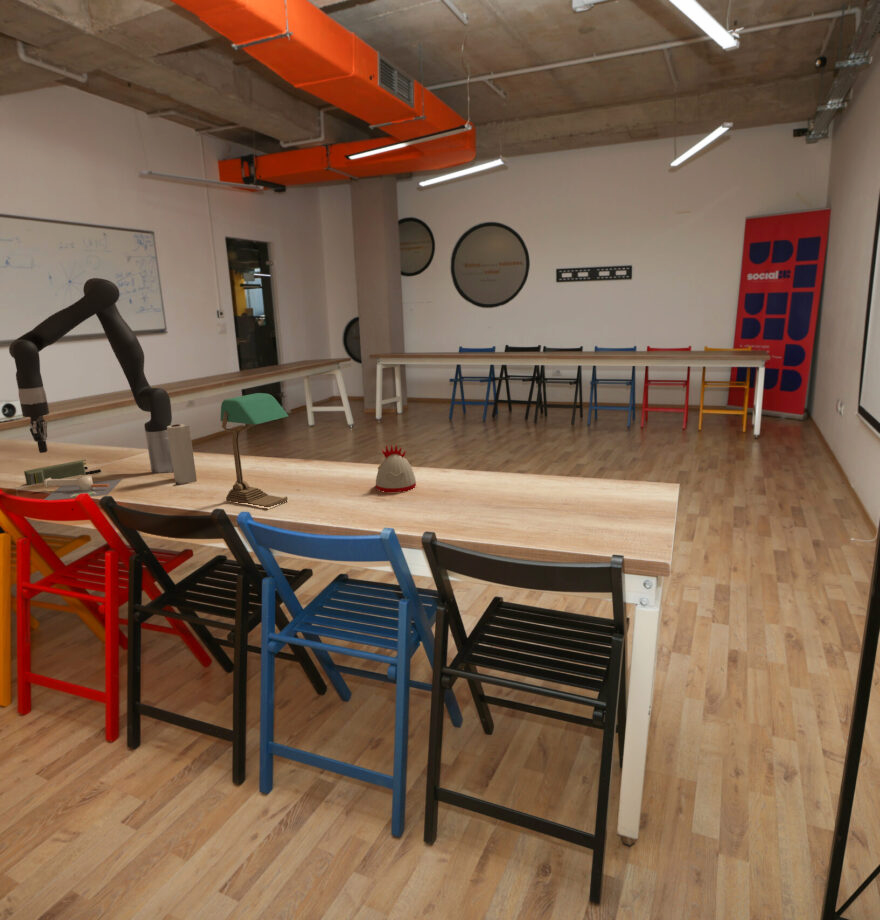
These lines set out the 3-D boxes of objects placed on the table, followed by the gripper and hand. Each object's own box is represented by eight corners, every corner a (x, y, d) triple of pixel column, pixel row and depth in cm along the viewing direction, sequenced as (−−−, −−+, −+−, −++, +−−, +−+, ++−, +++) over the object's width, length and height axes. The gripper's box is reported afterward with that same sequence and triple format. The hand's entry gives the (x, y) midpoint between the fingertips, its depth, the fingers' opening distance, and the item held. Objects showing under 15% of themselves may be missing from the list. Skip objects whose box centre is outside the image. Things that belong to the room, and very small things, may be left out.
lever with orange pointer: (112, 486, 220) (110, 475, 219) (105, 490, 216) (103, 478, 215) (52, 487, 221) (50, 476, 220) (44, 491, 217) (42, 479, 215)
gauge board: (122, 482, 231) (122, 478, 230) (107, 498, 212) (107, 494, 212) (64, 487, 227) (63, 483, 226) (43, 504, 208) (42, 499, 207)
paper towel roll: (172, 482, 228) (163, 425, 223) (188, 478, 233) (180, 422, 227) (181, 485, 224) (172, 428, 218) (197, 481, 228) (189, 425, 222)
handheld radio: (26, 487, 229) (99, 472, 246) (29, 489, 227) (102, 474, 243) (23, 470, 227) (97, 456, 244) (25, 472, 225) (99, 458, 242)
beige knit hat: (376, 482, 221) (373, 441, 217) (414, 480, 222) (413, 439, 218) (375, 494, 207) (373, 450, 203) (416, 491, 208) (415, 448, 204)
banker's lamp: (254, 491, 215) (242, 390, 206) (299, 499, 204) (289, 394, 195) (217, 504, 201) (203, 398, 192) (263, 513, 191) (251, 402, 182)
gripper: (25, 399, 208) (35, 449, 213) (15, 405, 196) (25, 457, 201) (50, 397, 211) (60, 446, 215) (42, 403, 199) (52, 455, 203)
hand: (43, 452), depth 208 cm, fingers closed
